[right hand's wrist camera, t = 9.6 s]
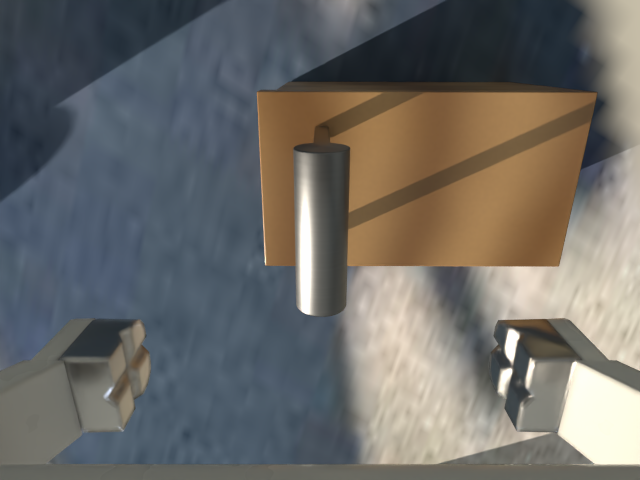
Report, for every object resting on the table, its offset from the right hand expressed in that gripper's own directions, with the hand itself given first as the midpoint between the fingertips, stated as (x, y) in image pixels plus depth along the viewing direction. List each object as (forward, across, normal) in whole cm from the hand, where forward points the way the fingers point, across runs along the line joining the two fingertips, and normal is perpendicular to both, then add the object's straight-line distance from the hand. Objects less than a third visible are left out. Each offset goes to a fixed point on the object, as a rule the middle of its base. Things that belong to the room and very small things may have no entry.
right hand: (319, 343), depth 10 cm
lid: (+15, +5, 0) cm, 16 cm away
